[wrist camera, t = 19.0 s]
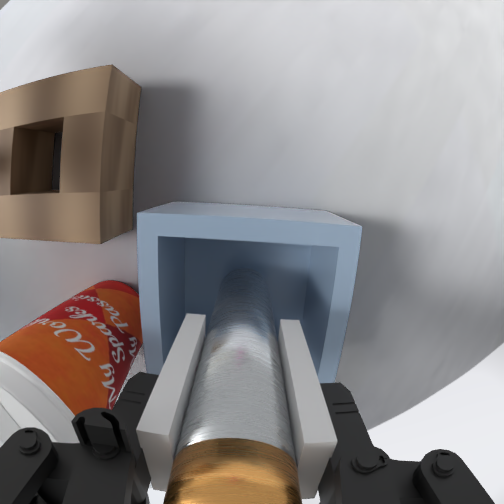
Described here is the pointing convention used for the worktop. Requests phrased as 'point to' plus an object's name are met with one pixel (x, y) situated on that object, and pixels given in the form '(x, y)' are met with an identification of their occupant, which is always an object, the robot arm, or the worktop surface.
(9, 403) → the paper cup
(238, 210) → the blue open box
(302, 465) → the robot arm
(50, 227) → the socket block
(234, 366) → the pin
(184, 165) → the worktop surface
